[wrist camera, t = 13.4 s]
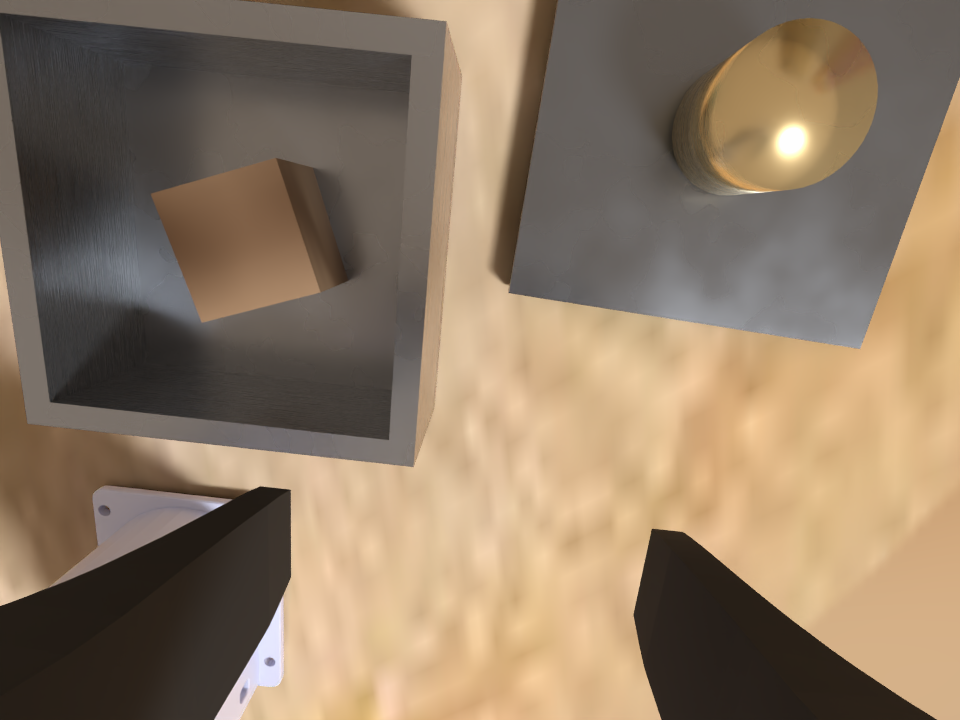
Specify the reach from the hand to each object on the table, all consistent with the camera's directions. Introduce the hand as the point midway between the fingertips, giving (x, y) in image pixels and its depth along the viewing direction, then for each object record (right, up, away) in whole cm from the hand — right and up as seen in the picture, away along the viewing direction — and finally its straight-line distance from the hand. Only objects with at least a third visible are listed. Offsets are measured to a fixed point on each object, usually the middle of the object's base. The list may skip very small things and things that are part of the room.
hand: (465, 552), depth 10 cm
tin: (-7, +8, +9) cm, 14 cm away
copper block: (-7, +8, +8) cm, 13 cm away
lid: (+9, +12, +8) cm, 16 cm away
